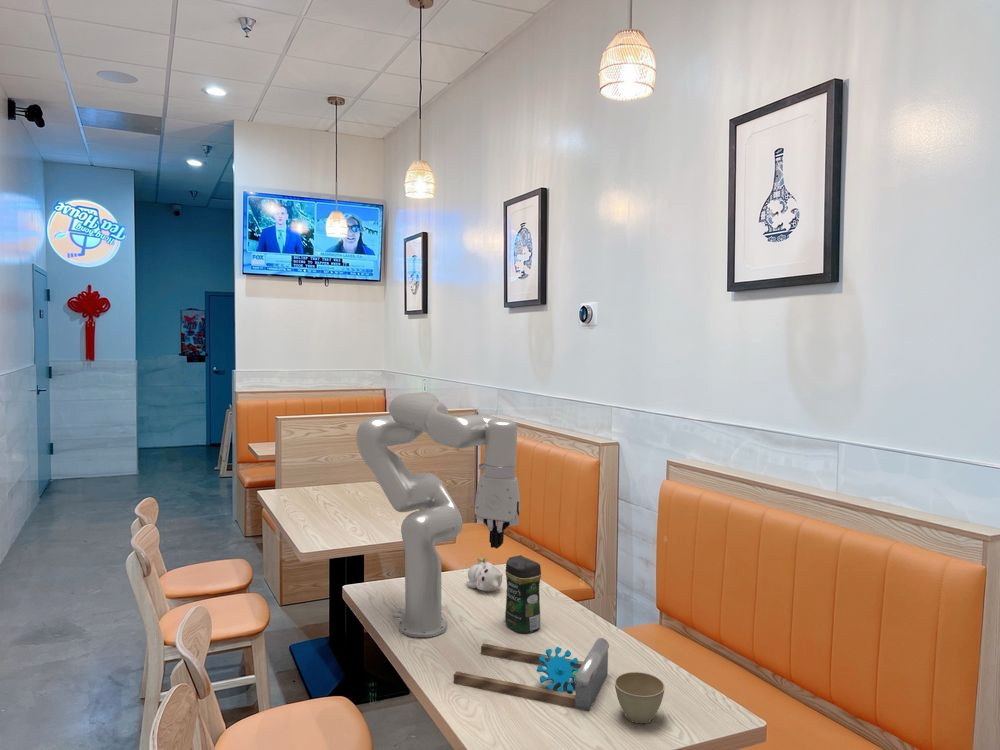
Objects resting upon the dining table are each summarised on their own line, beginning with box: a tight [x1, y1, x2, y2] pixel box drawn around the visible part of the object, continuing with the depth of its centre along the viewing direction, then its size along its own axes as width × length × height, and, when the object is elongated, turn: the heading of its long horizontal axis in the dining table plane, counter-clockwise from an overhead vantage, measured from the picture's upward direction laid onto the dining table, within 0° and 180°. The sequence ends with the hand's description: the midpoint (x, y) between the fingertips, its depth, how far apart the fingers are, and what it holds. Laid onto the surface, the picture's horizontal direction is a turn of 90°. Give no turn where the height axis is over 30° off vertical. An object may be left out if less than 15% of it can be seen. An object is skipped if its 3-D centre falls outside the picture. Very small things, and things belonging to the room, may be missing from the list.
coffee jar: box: [504, 554, 542, 634], centre depth 187 cm, size 10×8×19 cm
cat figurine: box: [467, 557, 503, 592], centre depth 215 cm, size 10×8×15 cm
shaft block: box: [574, 637, 610, 712], centre depth 154 cm, size 3×18×8 cm, turn 158°
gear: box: [536, 646, 580, 693], centre depth 157 cm, size 11×6×10 cm
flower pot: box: [614, 671, 666, 724], centre depth 143 cm, size 10×10×7 cm
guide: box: [453, 643, 584, 709], centre depth 160 cm, size 28×17×2 cm, turn 69°
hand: (496, 546), depth 168 cm, fingers closed
